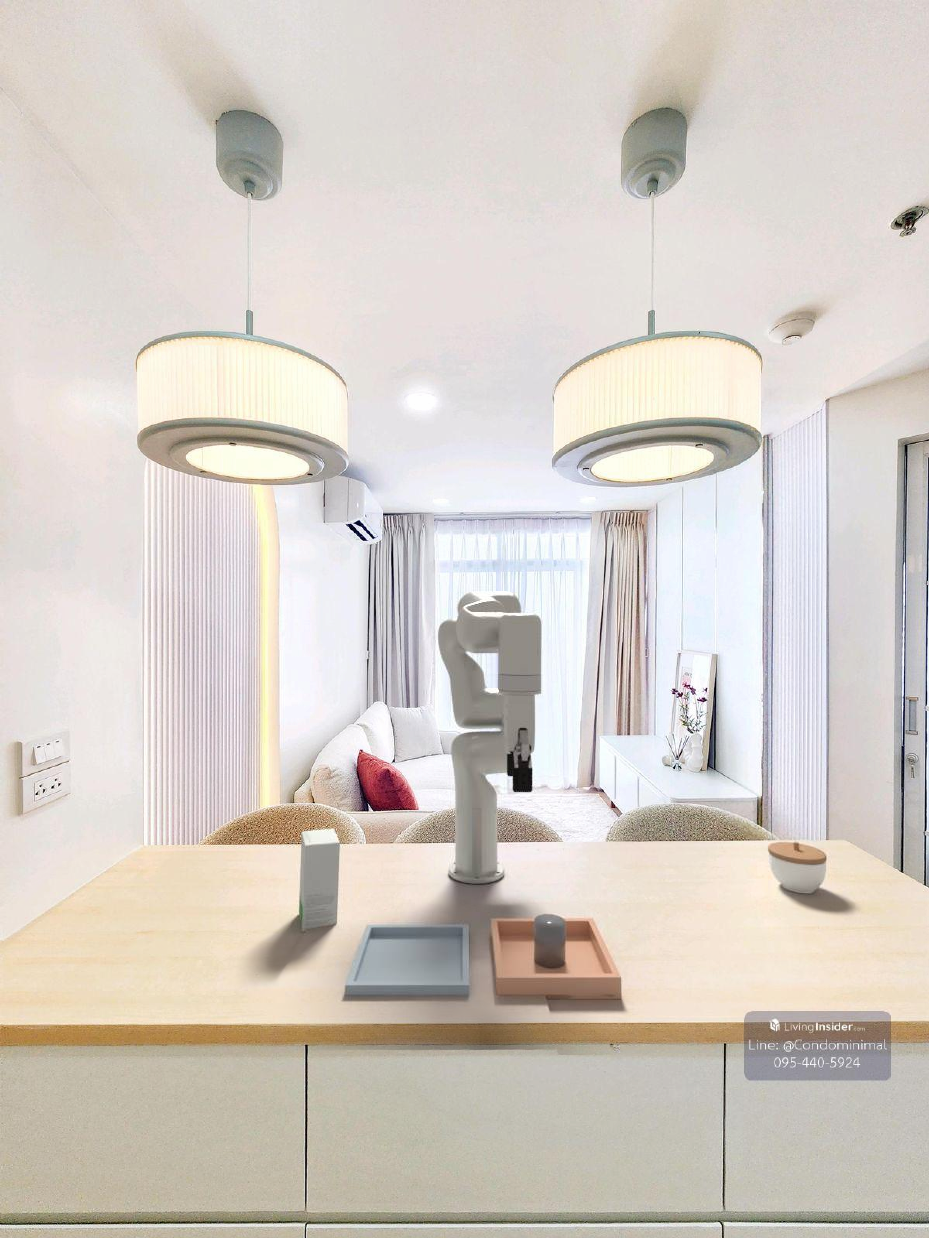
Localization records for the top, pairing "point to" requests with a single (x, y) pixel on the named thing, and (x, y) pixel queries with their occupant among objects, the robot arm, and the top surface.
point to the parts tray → (411, 961)
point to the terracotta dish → (577, 979)
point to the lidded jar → (797, 866)
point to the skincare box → (319, 878)
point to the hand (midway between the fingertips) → (518, 783)
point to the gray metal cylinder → (549, 940)
